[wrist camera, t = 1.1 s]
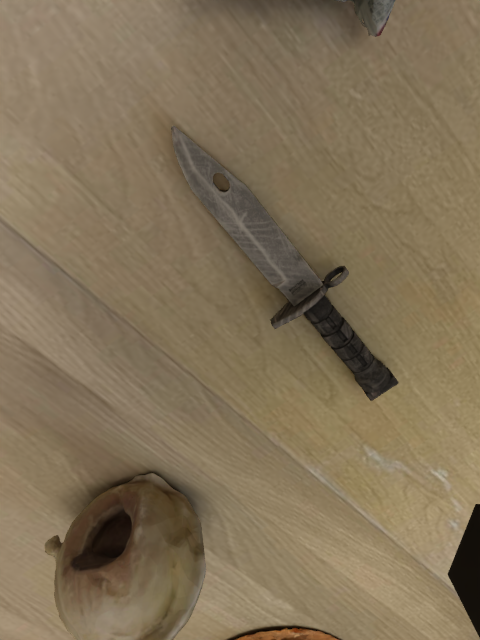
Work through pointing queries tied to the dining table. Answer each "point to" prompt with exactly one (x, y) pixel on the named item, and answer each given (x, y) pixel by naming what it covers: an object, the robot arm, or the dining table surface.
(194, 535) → the beige rounded shell
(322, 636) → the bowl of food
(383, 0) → the packaged food
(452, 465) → the dining table surface
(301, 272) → the knife
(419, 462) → the dining table surface
